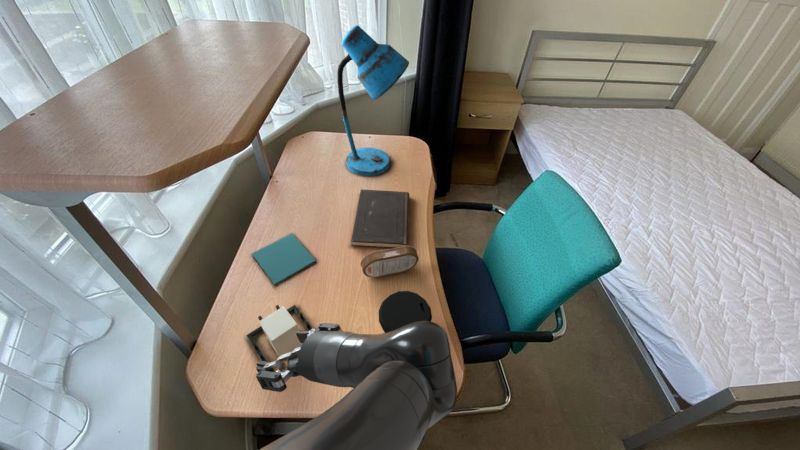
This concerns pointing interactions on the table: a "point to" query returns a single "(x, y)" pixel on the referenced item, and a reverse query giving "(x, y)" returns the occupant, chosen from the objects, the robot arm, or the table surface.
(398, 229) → the hardcover book
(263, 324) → the container
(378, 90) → the desk lamp
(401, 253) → the tin
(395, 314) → the coffee cup
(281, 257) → the mat
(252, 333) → the rack
